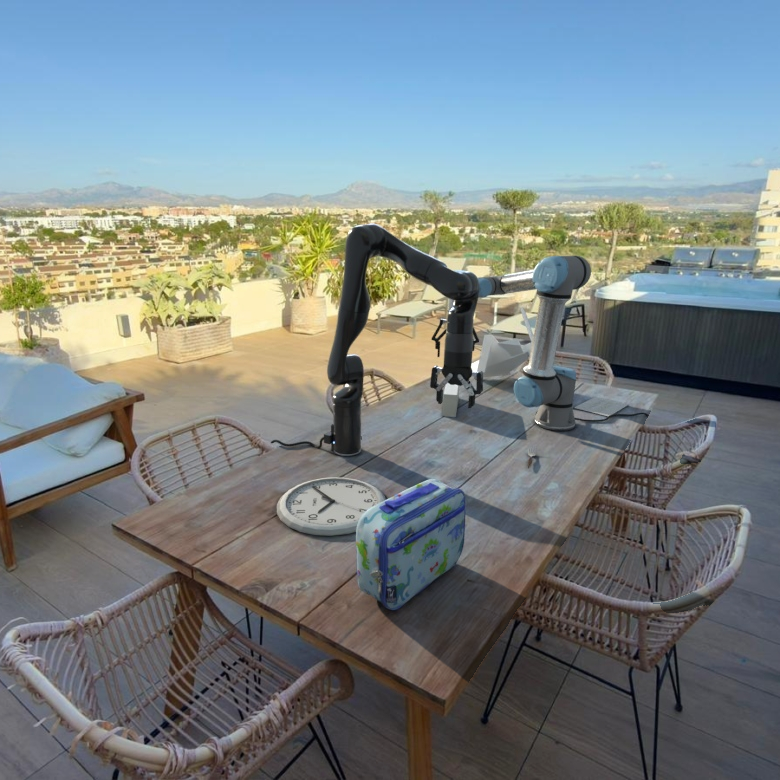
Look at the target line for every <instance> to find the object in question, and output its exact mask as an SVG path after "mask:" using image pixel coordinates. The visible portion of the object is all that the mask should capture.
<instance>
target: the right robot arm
mask: <svg viewBox="0 0 780 780" xmlns="http://www.w3.org/2000/svg"><path fill="white" fill-rule="evenodd" d="M454 271H455V272H458V273H460V272H468V271H467V270H462V269H461V270H454ZM591 275H592V267H591V264H590V262H588V260H587V259H586V258H584V257H583V256H580V255H552V256H547V257H545V258H542V259H540V261H538V263H537V264H536V265H535V266H534V269H530V270H525V271H520V272H514V273H509V274H502V275H496V276H482V277H481V276H480V277H477V278H478V280H479V285H480V291H479V297H478V299H480V298H481V299H485V298H487V297H490V296H498V295H499V296H502V295H503V296H504V295H506V294H514V293H519V292H527V291H528V292H529V291H534V290H536V292H535V293H536V296H537V297H538V299H539V303H538V309H537V314H536V320H535V325H534V330H533V335H534V336H533V342H532V347H531V353H530V357H529V359H528V364H527V365H525V366H523V369H522V375H521V376H520V377H518V379H516V380H515V381H514V384H513V393H514V396H515V398H516V400H517V401H518V403H520V404H521V405H522V406H524V407H526V408H538V410H537V411H536V412H535V417H534V424H535V425H536V426H537V427H539V428H542V429H544V430H549V431H556V432H567V431H572V430H574V429H575V428H576V421H579V422H580V421H581V422H591V423H595V422H596V423H598V422H606V421H607V420H609V419H610V418H611V417H634V416H640V415H644V416H646V417H650V416H649V414H648V413H646V412H636V413H614V414H613V415H610V416H606V418H602V419H585V418H584V419H583V418H579V417H576V416H575V413H574V407H573V405H574V398H575V390H576V383H577V372H576V371H575V369H572V368H571V367H570V368H569V367H566V366H561V365H554V363H555V360H556V359H555V358H556V354H557V353H556V352H557V348H558V343H559V337H560V333H561V327H562V322H563V317H564V312H565V307H566V304H567V302H568V301H570V300H571V299H572V297H573V291H574V290H577V289H581V288H583V287H584V286H586V284H587V283H589V281H590V279H591ZM447 301H448V302H447V308H448V309H447V313H448V312H449V311H450V310H451V309H452V307H453V303H454V300H452V299H449V298H447ZM444 324H447V319H444V318H440V319H439V324H438V326H437V327H436V329H435V331H434V333H433V335H432V337H431V341H434V342H435V343H434V349H435V350H437V358H440V355H441V341H440V340H441V339H442V338H443V337H444V336H446V328H445V329H443V331H442V332H441V333H440V334H439V332H440V330H441V329H442V326H443V325H444ZM438 334H439V335H438ZM437 335H438V336H437ZM477 343H478V344H479V343H480V338H479V336H478V334H477V331H476V329H475V326H473V351H472V352H474V351H475V346H476V345H475V344H477Z"/></svg>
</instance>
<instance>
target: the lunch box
mask: <svg viewBox="0 0 780 780" xmlns="http://www.w3.org/2000/svg"><path fill="white" fill-rule="evenodd" d="M465 532H466V495H465V492H464V491H463V490H462V489H461V488H453V487H451V486H449V485H447V484H445V483H443V482H442V481H440V480H437V479H435V478H430V479H426V480H424V481H422V482H420V483H417V484H415V485H413V486H411V487H409V488H407V489H405V490H403V491H401V492H399V493H397V494H395V495H393V496H391V497H389V498H386V500H385V501H383V502H381V503H379V504H377V505H375V506H373V507H371V508H369V509H368V510H366V511H365V512H364V513H363V515H362V516H361V518H360V520H359V522H358V525H357V529H356V532H355V551H356V579H357V580H356V581H357V585H358V588H359V590H360V591H361V592H363V593H365V594H366V595H369V596H371V597H372V598H374V599H375V600H376V601H378V602H380V603H381V604H382V606H383V607H384V608H386V609H388V610H391V611H397V610H399V609H401V608H402V607H403V606H405V604H406V603H407V602H409V601H410V600H412V598H414V597H415V596H417V594H419V593H421V592H422V591H423V590H425V588H426V587H428V586H430V585H431V584H432V583H433V582H434V581H435V580H436V579H438V578H439V577H440V576H442V575H444V574H446V572H448V571H450V570H451V569H452V568H453V567H454V566H455V565H456V564H457V563H458V561H459V559H460V558H461V555H462V552H463V549H464V546H465V545H464V544H465V536H466V535H465V534H466V533H465Z"/></svg>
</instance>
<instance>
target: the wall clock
mask: <svg viewBox="0 0 780 780" xmlns="http://www.w3.org/2000/svg"><path fill="white" fill-rule="evenodd" d="M385 500H387V498H386V496H385V494H384V493H383V492H382V491H381V490H380V489H379V488H377V487H376V486H374V485H372V484H371V483H369V482H365V481H362V480H359V479H355V478H349V477H338V476H337V477H335V476H333V477H332V476H331V477H322V478H317V479H312V480H307V481H305V482H302V483H299V484H297V485H295V486H293V487H292V488H290V489H288V490H287V491H286V492H285V493H284V494H283V495H281V496H280V498H279V499H278V502H277V503H276V515H277V517H278V518H279V520H280V521H281V522H282V523H283V524H285V525H286V526H287V527H288V528H290V529H293V530H295V531H297V532H299V533H303V534H308V535H312V536H327V537H328V536H329V537H331V536H332V537H333V536H342V535H350V534H352V533H356V529H357V525H358V522H359V520H360V518H361V516H362V515H363V513H364V512H365V511H366V510H368V509H369V508H371V507H373V506H375V505H377V504H379V503H381V502H383V501H385Z"/></svg>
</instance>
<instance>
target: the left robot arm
mask: <svg viewBox="0 0 780 780" xmlns="http://www.w3.org/2000/svg"><path fill="white" fill-rule="evenodd" d="M344 247H345V248H344V266H343V270H344V271H343V277H342V285H341V286H342V287H341V293H340V299H339V304H338V309H337V317H336V325H335V331H334V337H333V340H332V345H331V349H330V351H329V352H330V353H329V357H328V360H327V367H326V374H327V379H328V381H329V383H331V385H334V386H343V387H342V388H341V389H339V390H338V391H336V392H335V393H334V394H333V396H332V417H333V418H332V419H333V420H332V421H333V422H332V423H331V424H330V430H329V431H328V432H325V433H323V436H322V437H321V438H320V440H319V445H316V444H314V443H313V442H311V441H307V440H305V441H298V442H294V443H285V442H282V441H281V440H279V439H272V440H271V441H270V444H274V443H278V444H280V445H282V446H283V447H296V446H299V445H310V446H312V447H313V448H315V449H321V448H322V447H323V443H324V444H327V445H330V447H331V449H330V451H331V452H333V453H334V454H335V455H337V456H340V457H353V456H357V455H359V454H360V453H361V452H362V441H363V440H362V439H363V436H362V398H363V394H364V377H365V370H364V369H365V368H364V363H363V360H362V358H361V357H360V356H359V355H358V354H349V350H350V349H351V347H352V345H353V344H354V342H355V341H357V339H358V337H359V336H360V335H361V333H362V332H363V330H365V327H366V325H367V323H368V320H369V315H370V309H371V296H370V293H369V290H368V287H367V282H366V274H367V269H368V265H369V261H370V259H374V258H377V257H380V258H385V259H388V260H391V261H393V262H395V263H396V264H397V265H398V266H399V267H401V268H402V270H404V272H405V273H406V274H408V275H409V276H410V277H412V278H413V279H415V280H417V281H419V282H421V283H423V284H425V285H427V286H430V287H432V288H433V289H434V290H435V291H437V292H438V293H439V294H441V295H442V296H443V297H445V298H447V299H448V298H449V299H452V300H454V303H453V307H452V309H451V310H450V311H449V312H448V311H447V315H446V320H447V323H446V326H445V327H446V328H445V329H446V334H445V335H444V336H445V337H444V349H443V366H442V367H441V366H438V365H435V366H433V367H432V368H431V373H430V384H429V387H430V389H434V390H435V391H436V393H435V395H436V397H435V398H436V399H435V401H436V402H437V404H438V405H442V404H443V394H444V389H443V388H445V386H446V384H447V383H449V384H450V385H458V386H459V387H462V386H463V387H464V389H465V390H466V391H467V392H468V394H469V395H468V402H467V409H472V408H473V407H474V406H475V404H476V395H481V394H482V392H483V391H484V378H483V372H482V371H479V372H474V371H472V368H471V366H472V363H473V352H474V351H473V339H474V335H473V327H474V316H475V313H476V309H477V305H478V302H479V298H478V297H479V291H480V285H479V280H478V278H479V277H478V276H477V275H476V274H475V272H474V273H473V272H470V271H467V272H460V273H458V272H455V270H453V269H451V268H449V267H448V266H447V264H446V263H445V262H443V261H442V260H440V259H438V258H435V257H433V256H431V255H429V254H427V253H425V252H422V251H421V250H418V249H417V248H415V247H412V246H411V245H409V244H408V243H405V242H404V241H403V240H401V239H399V238H398V237H397V236H395V235H394V234H392V233H391V232H390V231H388V230H387V229H386V228H385V227H384V228H383V227H382V226H381V225H379V224H377V223H366V224H360V225H356V226H353V227H351V229H350V230H348V233H347V235H346V239H345V246H344ZM440 374H442V375H443V377H444V378H443V380H442V381H441V382H440V383H438V379H439V378H438V377H439V375H440ZM473 376H474V377H473ZM471 377H473V379H474V380H476V387H474V385H473V382H472V381H471Z"/></svg>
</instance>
